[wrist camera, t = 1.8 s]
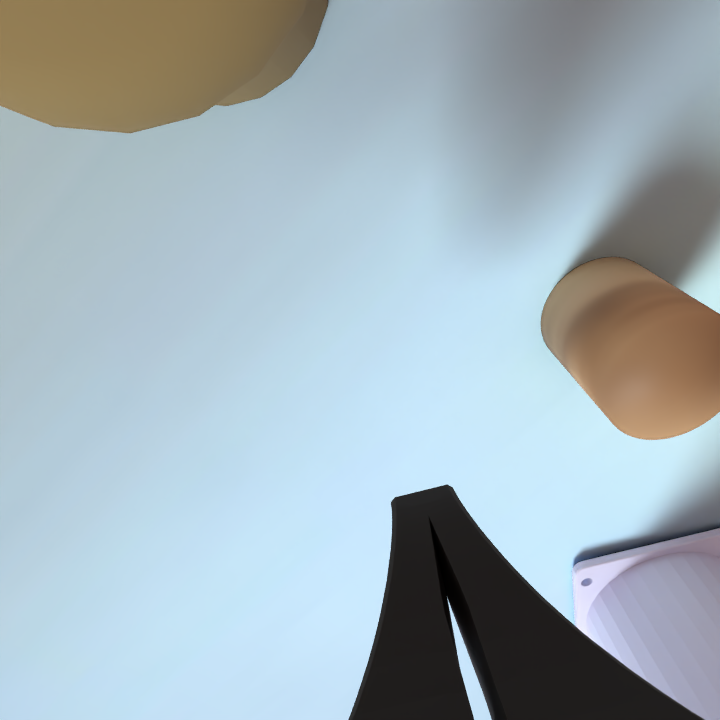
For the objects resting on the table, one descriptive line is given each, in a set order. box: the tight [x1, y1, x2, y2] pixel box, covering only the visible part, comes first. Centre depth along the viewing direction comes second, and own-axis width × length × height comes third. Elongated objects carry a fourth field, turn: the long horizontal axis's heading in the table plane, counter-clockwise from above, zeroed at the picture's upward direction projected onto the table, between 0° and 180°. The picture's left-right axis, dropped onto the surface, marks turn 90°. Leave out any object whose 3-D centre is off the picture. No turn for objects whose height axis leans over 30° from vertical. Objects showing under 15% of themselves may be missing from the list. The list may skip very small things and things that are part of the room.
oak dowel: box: [541, 257, 720, 440], centre depth 17 cm, size 4×4×4 cm
